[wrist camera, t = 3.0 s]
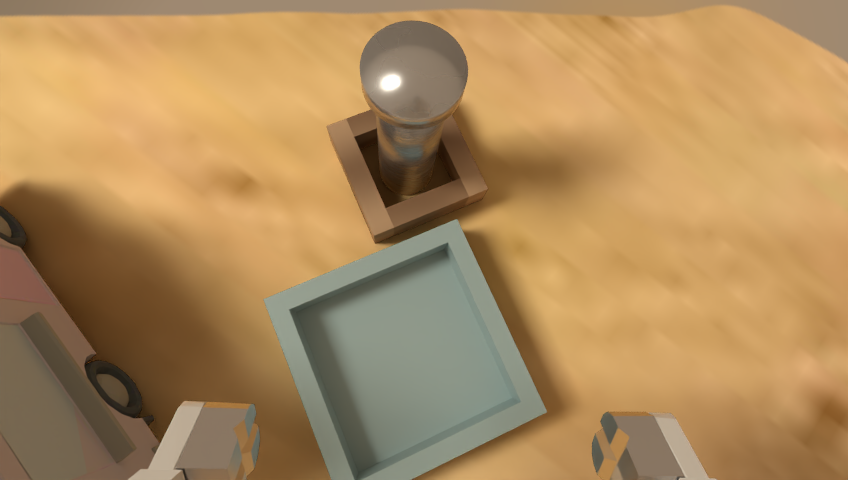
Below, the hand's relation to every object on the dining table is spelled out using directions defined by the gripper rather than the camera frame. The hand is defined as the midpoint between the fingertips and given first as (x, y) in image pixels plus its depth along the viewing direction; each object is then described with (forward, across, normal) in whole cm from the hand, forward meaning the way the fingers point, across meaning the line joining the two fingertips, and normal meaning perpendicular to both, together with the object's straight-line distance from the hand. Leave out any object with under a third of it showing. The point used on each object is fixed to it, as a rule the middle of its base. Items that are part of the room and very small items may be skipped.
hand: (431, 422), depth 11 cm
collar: (+20, +1, +2) cm, 20 cm away
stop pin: (+20, +1, +2) cm, 20 cm away
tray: (+12, 0, +10) cm, 16 cm away
